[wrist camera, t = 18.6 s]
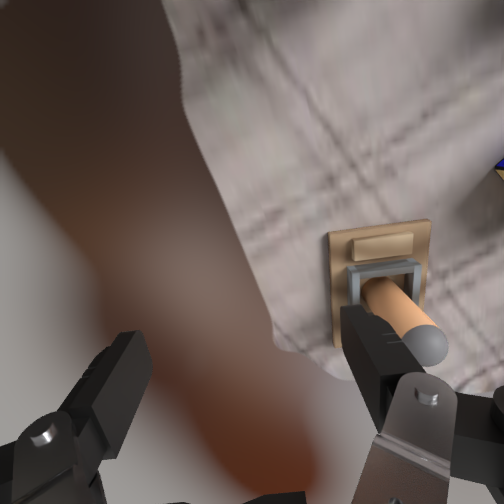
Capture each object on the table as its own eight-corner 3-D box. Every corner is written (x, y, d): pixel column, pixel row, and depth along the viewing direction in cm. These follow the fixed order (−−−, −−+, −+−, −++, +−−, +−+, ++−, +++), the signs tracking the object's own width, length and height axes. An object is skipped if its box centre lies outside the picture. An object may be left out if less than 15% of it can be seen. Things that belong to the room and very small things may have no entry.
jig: (327, 232, 41) (334, 240, 38) (426, 218, 41) (442, 226, 37) (332, 343, 49) (339, 358, 45) (416, 333, 48) (429, 348, 45)
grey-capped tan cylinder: (381, 269, 42) (443, 330, 29) (401, 290, 44) (468, 358, 30) (354, 290, 44) (401, 358, 30) (374, 310, 45) (427, 384, 31)
